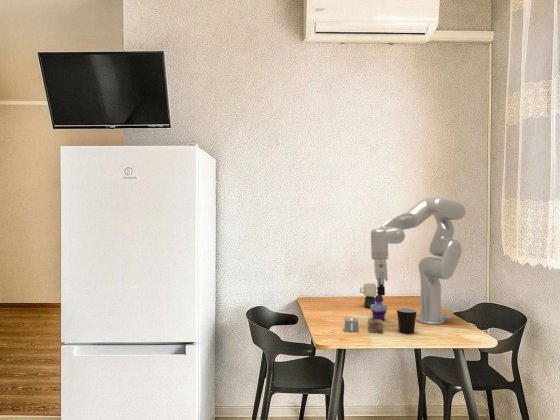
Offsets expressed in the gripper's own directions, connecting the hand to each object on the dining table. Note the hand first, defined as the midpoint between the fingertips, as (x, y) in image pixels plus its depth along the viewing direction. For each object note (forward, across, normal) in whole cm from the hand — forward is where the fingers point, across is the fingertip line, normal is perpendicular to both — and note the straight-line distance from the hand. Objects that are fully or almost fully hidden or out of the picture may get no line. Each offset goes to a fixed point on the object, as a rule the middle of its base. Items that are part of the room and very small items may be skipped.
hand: (381, 295), depth 206 cm
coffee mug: (+16, -5, -10) cm, 20 cm away
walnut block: (+16, -5, +4) cm, 17 cm away
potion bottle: (+16, +17, 0) cm, 23 cm away
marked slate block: (+15, -5, +14) cm, 21 cm away
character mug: (+17, +43, +3) cm, 46 cm away
